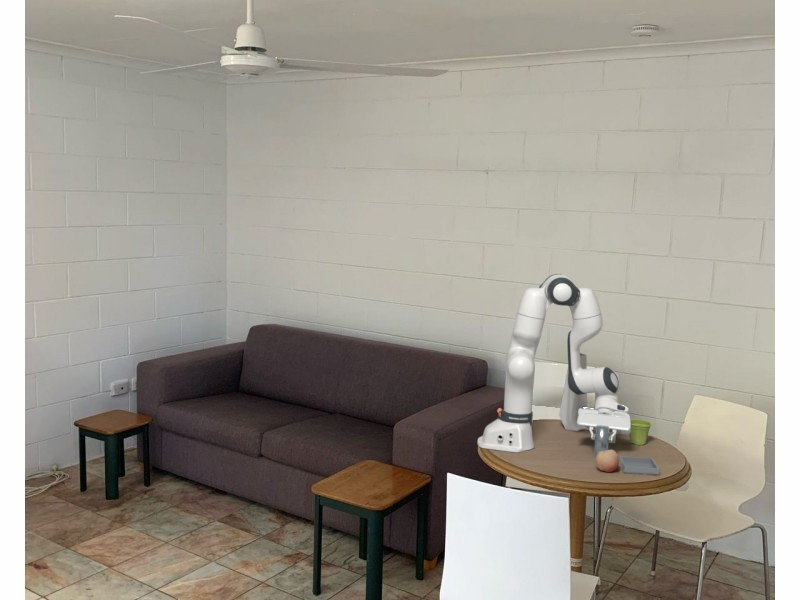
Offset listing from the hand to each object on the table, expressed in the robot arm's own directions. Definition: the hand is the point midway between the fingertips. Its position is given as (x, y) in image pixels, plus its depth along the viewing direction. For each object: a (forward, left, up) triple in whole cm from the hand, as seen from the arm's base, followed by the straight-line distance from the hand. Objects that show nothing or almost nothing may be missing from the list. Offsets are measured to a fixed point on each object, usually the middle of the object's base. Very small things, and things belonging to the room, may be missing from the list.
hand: (601, 440), depth 289 cm
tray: (+12, -10, -7) cm, 17 cm away
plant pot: (+18, +23, -7) cm, 30 cm away
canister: (0, +1, -7) cm, 7 cm away
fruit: (0, -15, -7) cm, 17 cm away
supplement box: (+5, +24, -7) cm, 25 cm away
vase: (-6, +38, -7) cm, 39 cm away
